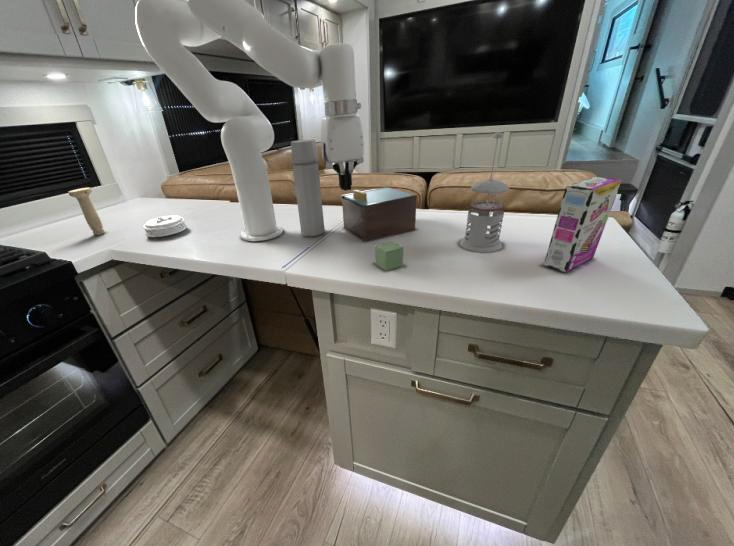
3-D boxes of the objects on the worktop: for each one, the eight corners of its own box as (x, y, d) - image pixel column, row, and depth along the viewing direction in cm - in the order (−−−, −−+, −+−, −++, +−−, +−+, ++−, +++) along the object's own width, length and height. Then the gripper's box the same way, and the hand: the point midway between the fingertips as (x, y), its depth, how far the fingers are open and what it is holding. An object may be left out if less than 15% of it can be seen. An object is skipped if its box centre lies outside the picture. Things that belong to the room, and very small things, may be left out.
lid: (194, 230, 110) (190, 215, 107) (157, 242, 102) (151, 226, 99) (176, 224, 117) (171, 210, 115) (140, 235, 109) (134, 220, 107)
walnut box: (343, 227, 100) (341, 195, 95) (388, 218, 105) (388, 186, 100) (366, 241, 89) (365, 205, 84) (415, 230, 94) (417, 195, 89)
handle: (86, 237, 113) (64, 192, 105) (102, 230, 118) (83, 187, 110) (96, 237, 111) (75, 192, 103) (112, 231, 116) (93, 187, 109)
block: (375, 263, 76) (374, 245, 74) (391, 259, 78) (392, 240, 75) (385, 271, 73) (385, 251, 70) (403, 266, 74) (403, 247, 72)
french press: (452, 246, 81) (465, 134, 69) (472, 233, 89) (487, 128, 76) (493, 255, 75) (515, 134, 63) (511, 239, 82) (534, 128, 70)
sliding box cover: (344, 198, 95) (343, 188, 94) (389, 189, 100) (389, 180, 99) (365, 207, 85) (365, 197, 84) (414, 197, 90) (414, 187, 89)
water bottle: (323, 237, 94) (313, 141, 81) (297, 237, 96) (283, 143, 83) (330, 227, 102) (322, 137, 89) (305, 227, 103) (294, 139, 91)
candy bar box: (567, 274, 65) (594, 189, 57) (542, 266, 69) (563, 185, 61) (595, 258, 70) (623, 178, 62) (570, 252, 74) (594, 175, 66)
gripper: (361, 107, 83) (363, 182, 93) (305, 113, 79) (314, 191, 88) (376, 106, 77) (377, 187, 87) (317, 112, 73) (325, 196, 82)
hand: (345, 189), depth 87 cm, fingers closed
